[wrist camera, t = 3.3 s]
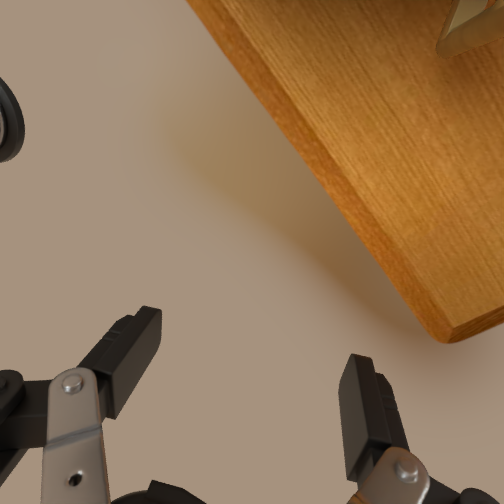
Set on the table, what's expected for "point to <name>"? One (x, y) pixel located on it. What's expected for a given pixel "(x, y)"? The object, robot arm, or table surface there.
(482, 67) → the table surface
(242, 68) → the table surface
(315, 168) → the table surface
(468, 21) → the door
